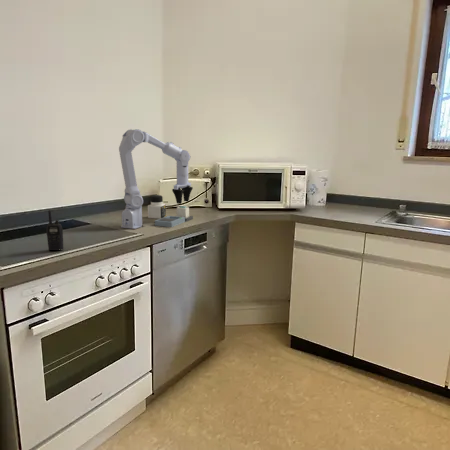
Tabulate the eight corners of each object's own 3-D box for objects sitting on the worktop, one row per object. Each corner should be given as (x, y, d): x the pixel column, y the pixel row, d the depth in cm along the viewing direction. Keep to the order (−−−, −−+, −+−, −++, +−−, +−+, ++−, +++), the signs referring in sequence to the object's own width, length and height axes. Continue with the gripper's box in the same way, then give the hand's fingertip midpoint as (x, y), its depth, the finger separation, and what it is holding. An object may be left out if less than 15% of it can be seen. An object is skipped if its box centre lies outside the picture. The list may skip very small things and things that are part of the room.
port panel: (171, 228, 181) (171, 222, 180) (154, 226, 184) (154, 220, 183) (185, 223, 193) (185, 216, 192) (168, 221, 196) (168, 215, 195)
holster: (186, 223, 193) (186, 218, 193) (172, 221, 196) (172, 217, 196) (193, 220, 200) (193, 216, 199) (179, 218, 203) (179, 214, 202)
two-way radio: (47, 251, 143) (43, 211, 140) (50, 248, 147) (46, 208, 144) (63, 251, 144) (59, 210, 141) (65, 248, 148) (62, 208, 145)
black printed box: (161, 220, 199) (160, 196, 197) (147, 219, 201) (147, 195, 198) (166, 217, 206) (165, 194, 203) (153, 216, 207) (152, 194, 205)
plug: (185, 220, 195) (185, 207, 194) (176, 219, 197) (176, 206, 196) (189, 219, 198) (189, 206, 197) (180, 218, 200) (180, 205, 199)
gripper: (182, 176, 185) (183, 205, 188) (196, 174, 198) (196, 200, 201) (169, 175, 187) (170, 204, 190) (183, 173, 201) (184, 199, 204)
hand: (182, 202), depth 196 cm, fingers open, 7 cm apart
